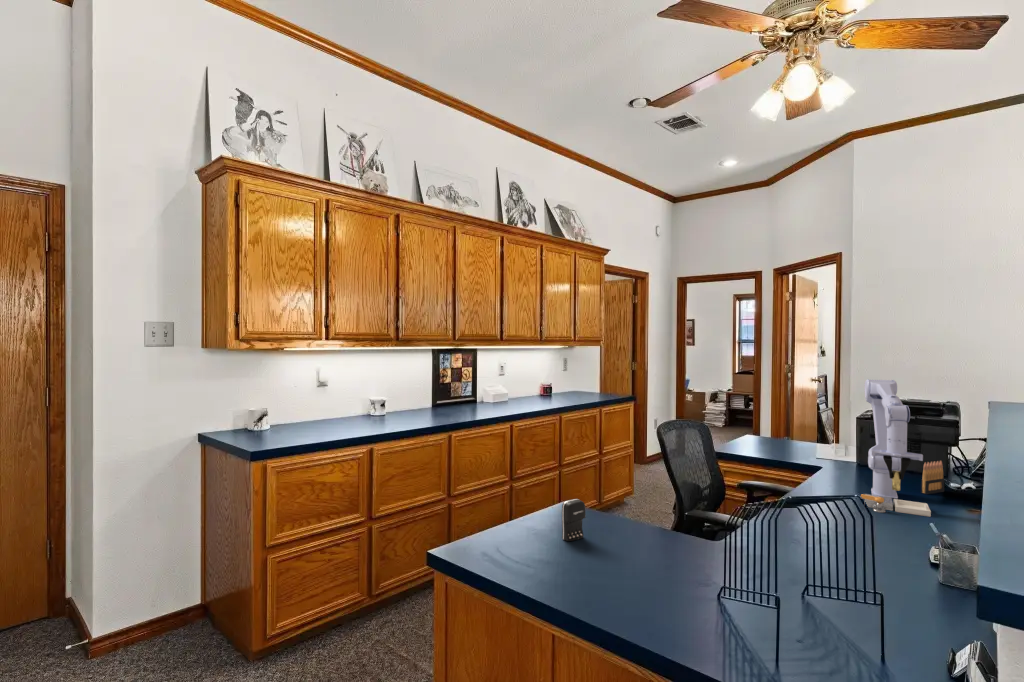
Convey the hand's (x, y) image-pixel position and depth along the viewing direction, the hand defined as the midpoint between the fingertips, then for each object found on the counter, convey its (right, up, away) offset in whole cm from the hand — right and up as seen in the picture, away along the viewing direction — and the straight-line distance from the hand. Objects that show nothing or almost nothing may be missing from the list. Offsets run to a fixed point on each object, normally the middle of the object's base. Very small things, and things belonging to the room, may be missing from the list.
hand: (896, 478), depth 189 cm
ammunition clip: (+27, -10, +19) cm, 35 cm away
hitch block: (-6, -10, +1) cm, 12 cm away
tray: (+4, -10, -2) cm, 11 cm away
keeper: (-9, -7, -2) cm, 12 cm away
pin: (0, -4, 0) cm, 4 cm away
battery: (-116, -11, -28) cm, 120 cm away
